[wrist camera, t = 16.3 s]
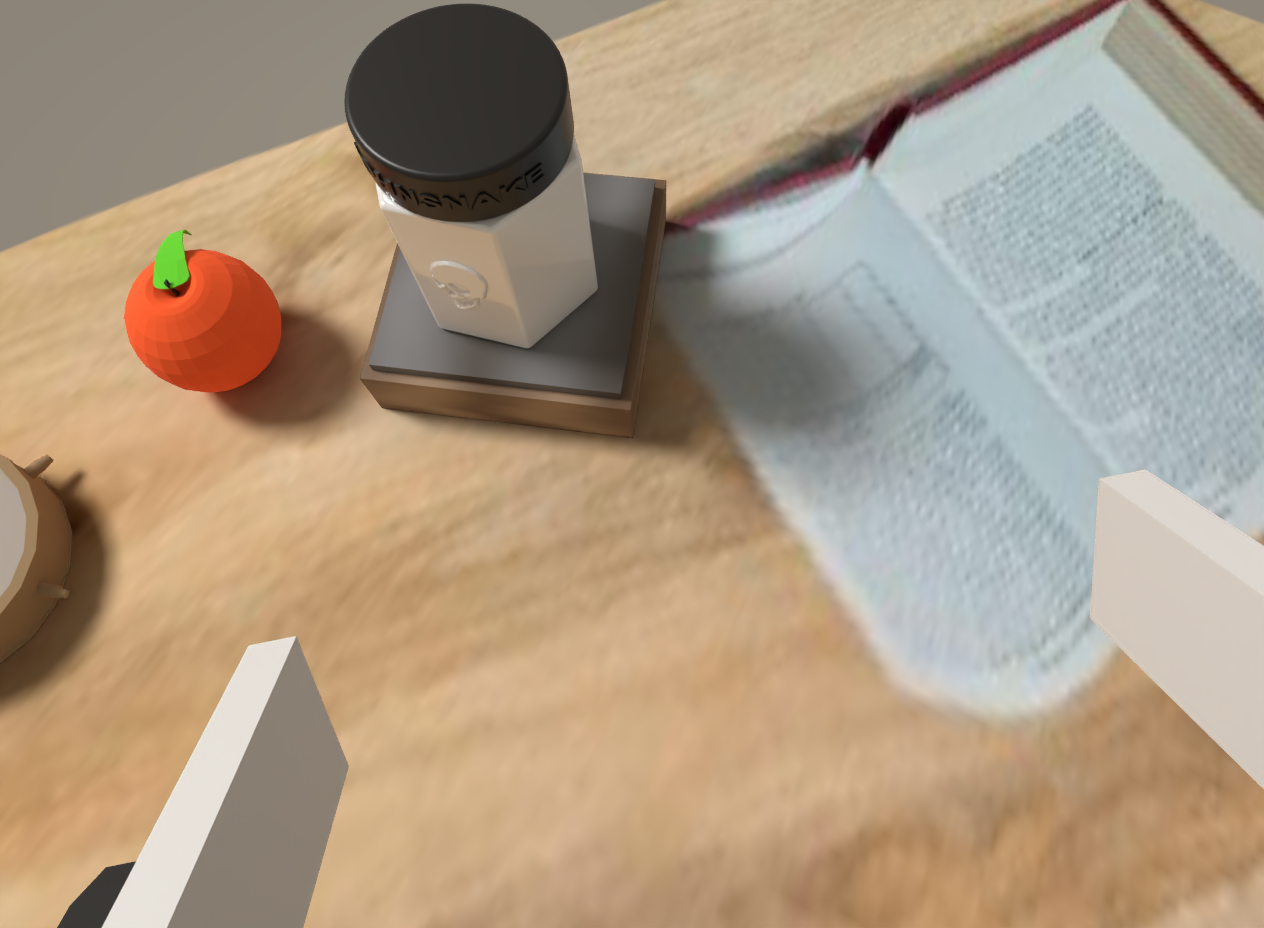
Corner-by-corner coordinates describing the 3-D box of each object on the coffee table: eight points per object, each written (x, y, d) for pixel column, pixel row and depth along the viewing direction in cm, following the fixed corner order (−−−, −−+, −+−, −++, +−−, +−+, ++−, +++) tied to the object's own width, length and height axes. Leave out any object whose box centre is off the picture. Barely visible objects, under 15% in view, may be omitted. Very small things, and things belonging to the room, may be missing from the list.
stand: (665, 220, 48) (666, 172, 44) (632, 437, 43) (629, 404, 40) (436, 197, 49) (418, 149, 45) (381, 407, 44) (355, 372, 41)
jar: (394, 323, 41) (294, 151, 30) (452, 186, 44) (379, -18, 33) (573, 365, 40) (538, 203, 29) (621, 223, 43) (606, 24, 32)
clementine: (168, 296, 47) (87, 216, 40) (295, 268, 47) (235, 184, 41) (176, 428, 44) (90, 365, 38) (310, 397, 45) (248, 330, 38)
